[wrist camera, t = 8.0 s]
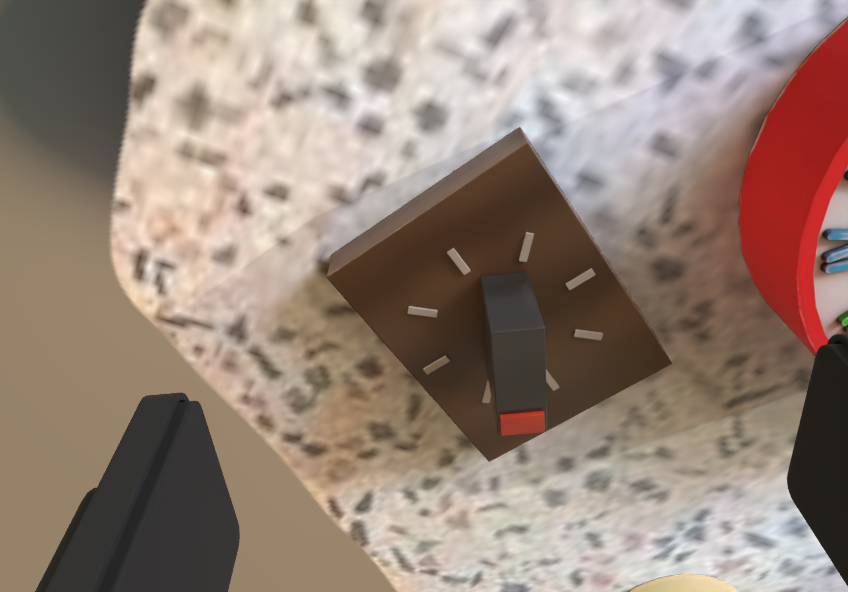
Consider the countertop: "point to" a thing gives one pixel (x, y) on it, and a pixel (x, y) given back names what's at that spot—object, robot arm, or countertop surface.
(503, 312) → the dial
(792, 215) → the toy clock
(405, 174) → the countertop surface
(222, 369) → the countertop surface
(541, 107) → the countertop surface
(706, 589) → the cake
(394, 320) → the panel
